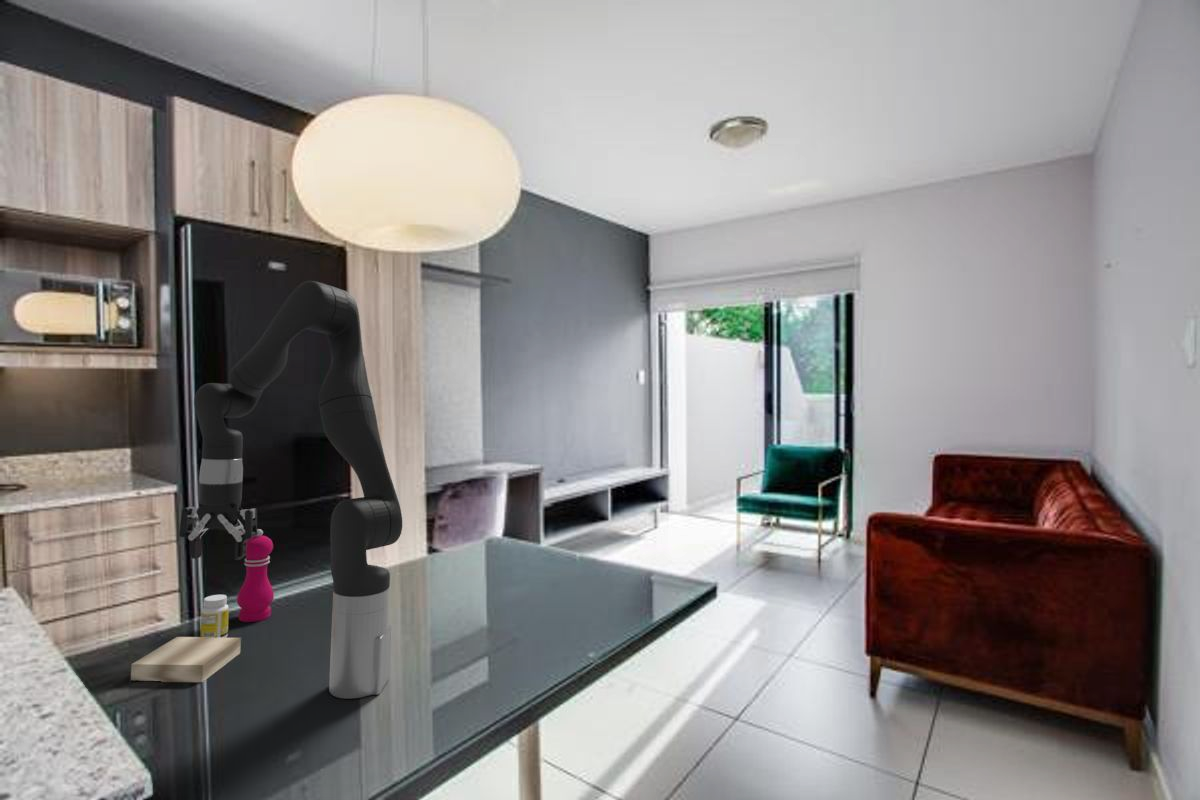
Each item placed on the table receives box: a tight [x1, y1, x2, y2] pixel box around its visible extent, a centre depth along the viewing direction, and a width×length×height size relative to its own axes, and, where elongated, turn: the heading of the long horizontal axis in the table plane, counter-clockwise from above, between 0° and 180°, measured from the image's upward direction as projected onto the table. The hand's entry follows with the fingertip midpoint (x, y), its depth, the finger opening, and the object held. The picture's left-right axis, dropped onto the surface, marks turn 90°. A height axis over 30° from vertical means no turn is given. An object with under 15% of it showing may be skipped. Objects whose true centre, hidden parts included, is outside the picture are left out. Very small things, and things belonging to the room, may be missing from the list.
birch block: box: [130, 636, 242, 683], centre depth 108 cm, size 12×12×3 cm
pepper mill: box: [236, 528, 275, 623], centre depth 133 cm, size 7×7×20 cm
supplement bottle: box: [199, 594, 230, 638], centre depth 121 cm, size 5×5×8 cm
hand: (217, 558), depth 121 cm, fingers open, 8 cm apart
